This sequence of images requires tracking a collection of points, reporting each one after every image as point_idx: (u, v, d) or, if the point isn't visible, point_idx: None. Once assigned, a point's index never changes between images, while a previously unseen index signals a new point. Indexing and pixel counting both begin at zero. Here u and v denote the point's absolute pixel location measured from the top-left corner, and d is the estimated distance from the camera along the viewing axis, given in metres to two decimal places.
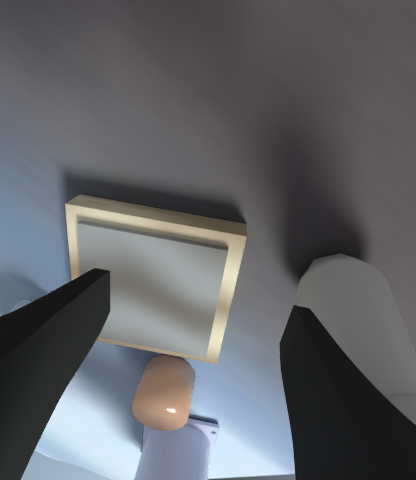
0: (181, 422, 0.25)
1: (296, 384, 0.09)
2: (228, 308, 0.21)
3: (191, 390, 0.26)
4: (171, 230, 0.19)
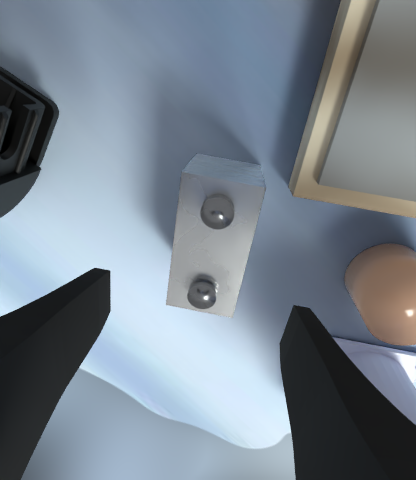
0: None
1: (296, 384, 0.09)
2: None
3: None
4: None
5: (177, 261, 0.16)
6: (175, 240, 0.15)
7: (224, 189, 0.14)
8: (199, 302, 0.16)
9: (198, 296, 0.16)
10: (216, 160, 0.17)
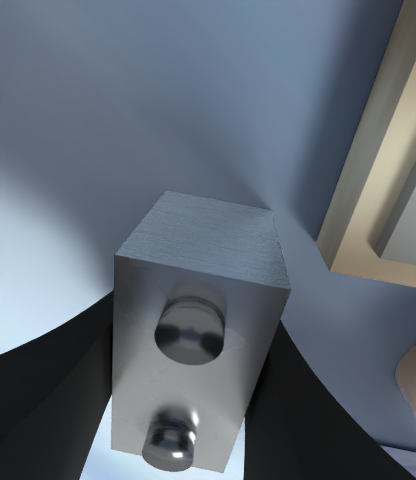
0: None
1: None
2: None
3: None
4: None
5: (124, 395, 0.09)
6: (116, 365, 0.08)
7: (204, 290, 0.07)
8: (164, 462, 0.09)
9: (161, 455, 0.09)
10: (197, 206, 0.10)
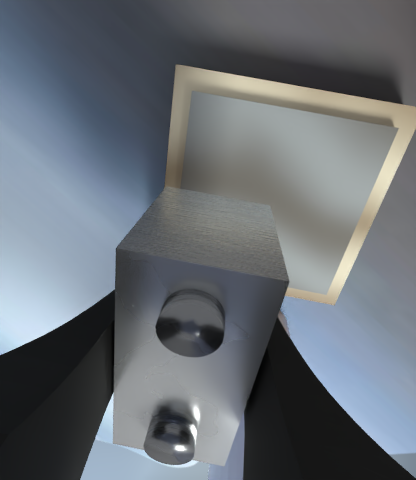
0: None
1: None
2: (370, 223, 0.16)
3: None
4: (318, 102, 0.14)
5: (125, 388, 0.09)
6: (117, 359, 0.08)
7: (205, 282, 0.07)
8: (166, 456, 0.09)
9: (163, 448, 0.09)
10: (196, 202, 0.10)
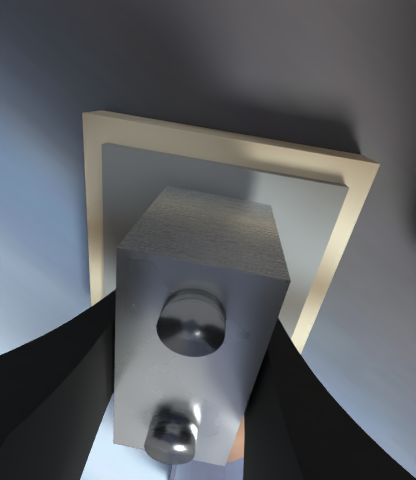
0: (239, 453, 0.18)
1: None
2: (326, 287, 0.14)
3: None
4: (254, 156, 0.12)
5: (126, 388, 0.09)
6: (118, 358, 0.08)
7: (206, 282, 0.07)
8: (166, 455, 0.09)
9: (163, 448, 0.09)
10: (197, 202, 0.10)
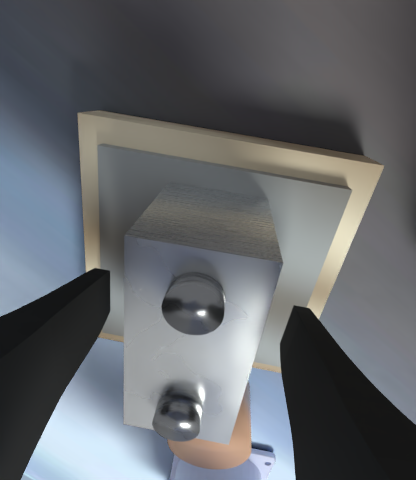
0: (239, 459, 0.18)
1: (297, 384, 0.09)
2: (328, 291, 0.14)
3: (250, 411, 0.19)
4: (254, 157, 0.11)
5: (134, 369, 0.09)
6: (127, 340, 0.09)
7: (206, 265, 0.07)
8: (173, 432, 0.10)
9: (170, 425, 0.10)
10: (198, 196, 0.11)
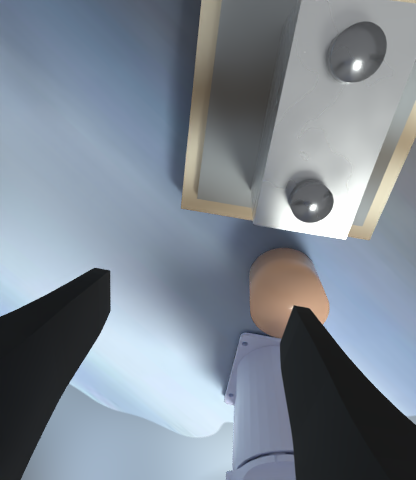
0: None
1: (297, 384, 0.09)
2: (411, 141, 0.15)
3: None
4: None
5: (278, 152, 0.11)
6: (279, 116, 0.11)
7: (368, 17, 0.09)
8: (308, 212, 0.11)
9: (307, 202, 0.11)
10: None
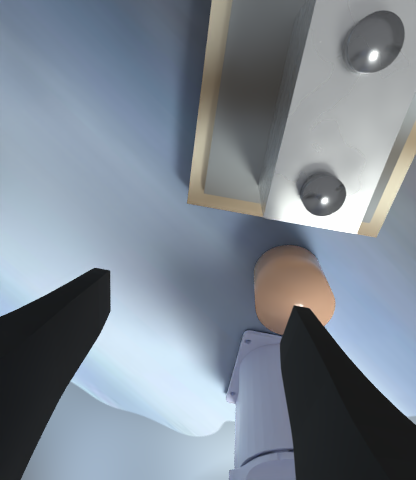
0: (321, 321, 0.19)
1: (296, 384, 0.09)
2: None
3: None
4: None
5: (291, 144, 0.11)
6: (293, 108, 0.11)
7: (386, 6, 0.09)
8: (320, 204, 0.11)
9: (319, 195, 0.11)
10: None
